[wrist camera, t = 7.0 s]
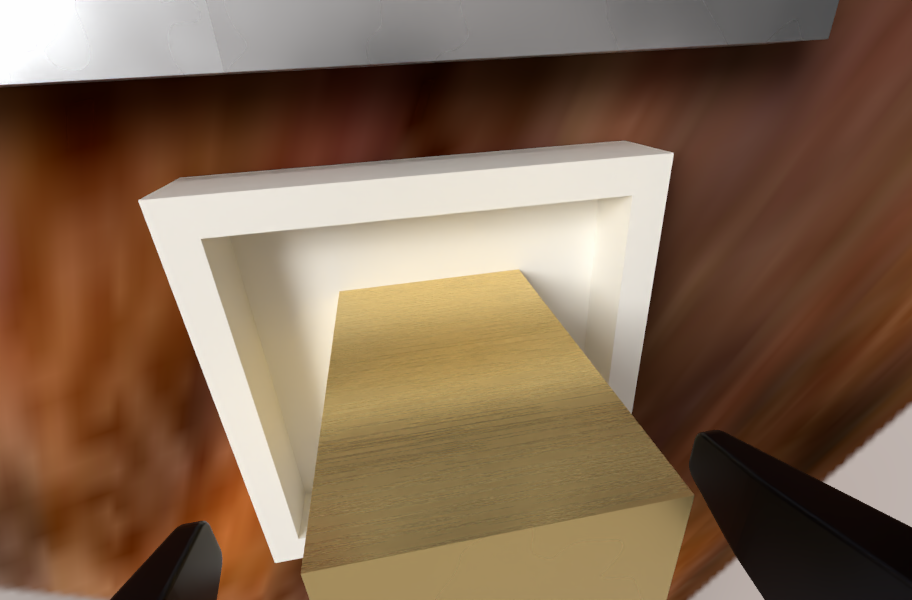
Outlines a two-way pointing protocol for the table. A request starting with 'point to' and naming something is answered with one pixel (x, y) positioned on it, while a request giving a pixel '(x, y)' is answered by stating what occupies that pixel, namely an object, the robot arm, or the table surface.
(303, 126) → the table surface
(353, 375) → the wood grain block
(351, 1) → the grey flat plate
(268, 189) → the tray
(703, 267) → the table surface
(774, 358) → the table surface
